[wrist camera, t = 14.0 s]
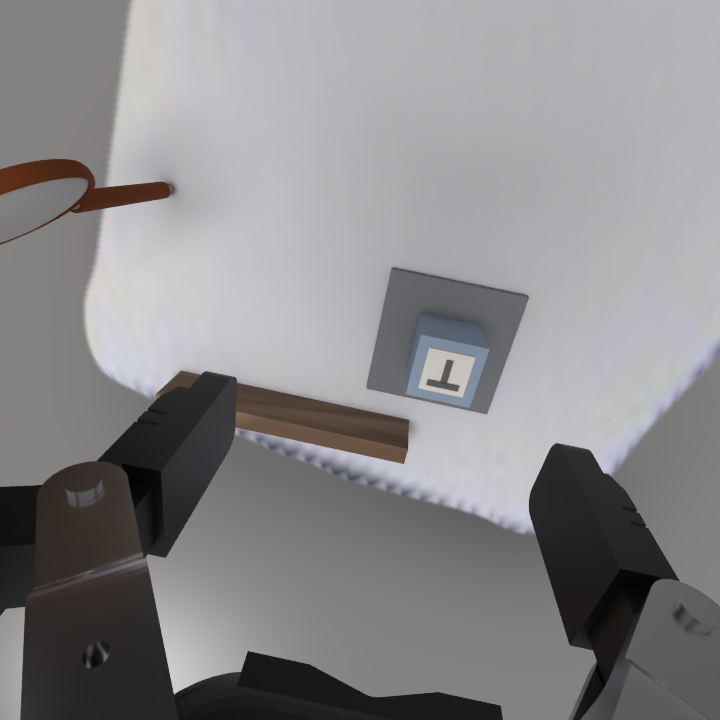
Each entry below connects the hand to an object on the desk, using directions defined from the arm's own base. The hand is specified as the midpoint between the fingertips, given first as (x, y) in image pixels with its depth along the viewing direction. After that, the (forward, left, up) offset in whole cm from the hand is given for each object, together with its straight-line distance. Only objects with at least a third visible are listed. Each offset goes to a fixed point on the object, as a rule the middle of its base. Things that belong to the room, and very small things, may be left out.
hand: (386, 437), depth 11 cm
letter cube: (+7, +5, -26) cm, 27 cm away
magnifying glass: (-1, -19, -26) cm, 33 cm away
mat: (+7, +5, -26) cm, 28 cm away
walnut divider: (+16, -7, -26) cm, 32 cm away
